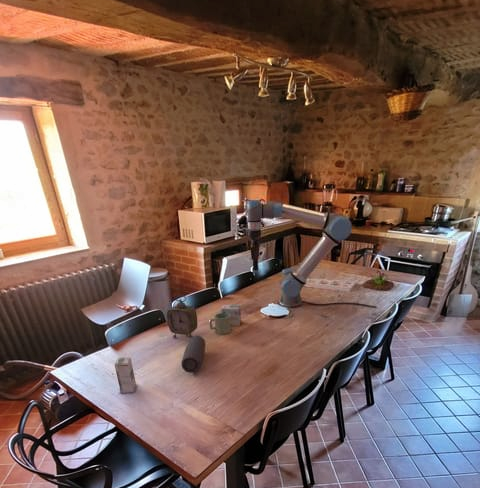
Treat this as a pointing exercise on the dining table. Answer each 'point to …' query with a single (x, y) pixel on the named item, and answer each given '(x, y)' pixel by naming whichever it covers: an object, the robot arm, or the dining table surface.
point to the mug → (221, 323)
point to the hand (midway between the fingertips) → (255, 270)
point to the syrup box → (125, 374)
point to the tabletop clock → (182, 318)
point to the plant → (379, 283)
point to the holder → (331, 284)
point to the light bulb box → (233, 313)
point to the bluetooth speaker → (193, 354)
